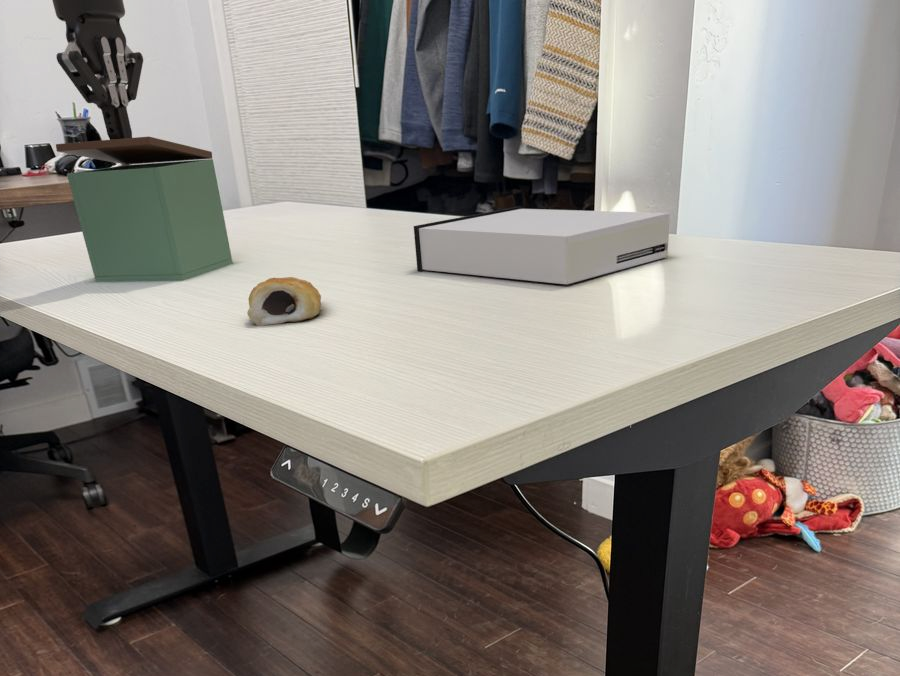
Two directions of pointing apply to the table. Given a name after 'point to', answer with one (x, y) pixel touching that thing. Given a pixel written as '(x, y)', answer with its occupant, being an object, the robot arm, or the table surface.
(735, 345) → the table surface
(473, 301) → the table surface
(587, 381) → the table surface
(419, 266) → the disc drive
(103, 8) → the robot arm
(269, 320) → the pastry
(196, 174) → the bin
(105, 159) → the bin lid
